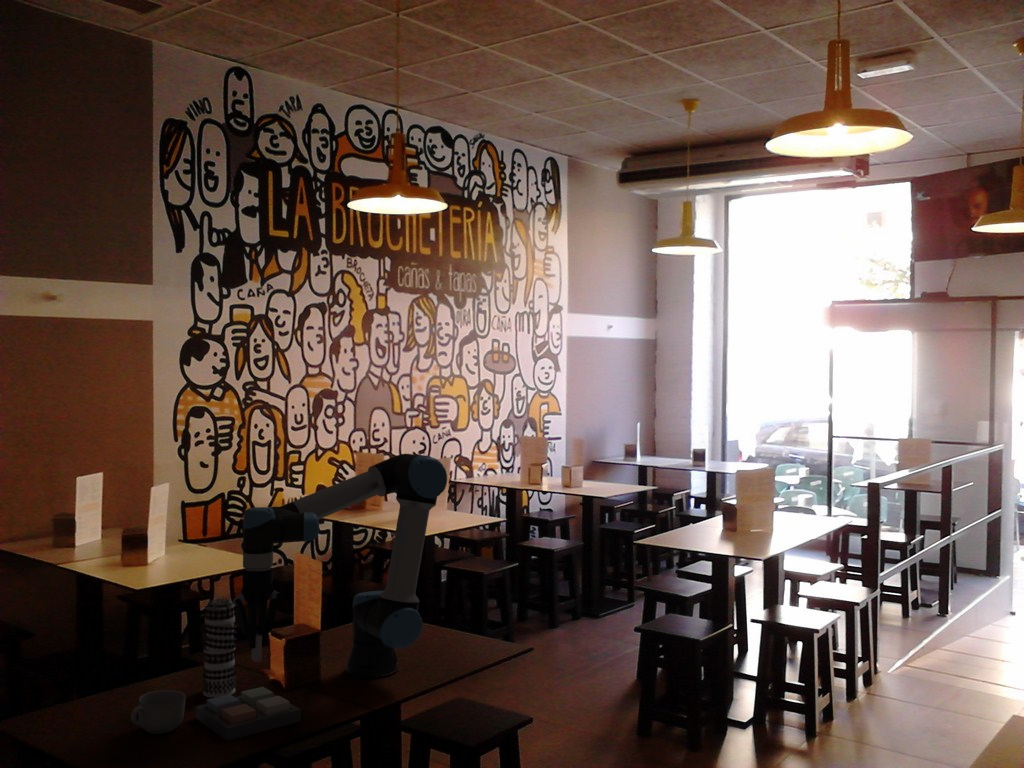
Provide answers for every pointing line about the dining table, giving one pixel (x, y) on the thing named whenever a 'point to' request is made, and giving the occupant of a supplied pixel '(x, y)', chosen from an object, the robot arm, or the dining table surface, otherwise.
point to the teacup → (160, 711)
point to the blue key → (221, 703)
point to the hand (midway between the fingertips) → (256, 660)
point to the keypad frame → (248, 726)
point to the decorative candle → (219, 648)
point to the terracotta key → (238, 714)
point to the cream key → (272, 705)
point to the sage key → (255, 695)
